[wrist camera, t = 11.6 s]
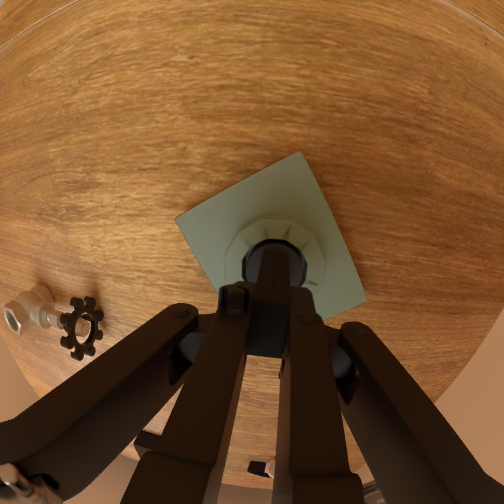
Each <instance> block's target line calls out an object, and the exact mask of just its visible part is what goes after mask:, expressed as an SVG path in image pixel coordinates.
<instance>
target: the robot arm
mask: <svg viewBox="0 0 504 504" xmlns="http://www.w3.org/2000/svg"><path fill="white" fill-rule="evenodd" d="M282 354H283V357H282ZM247 355H255V356H263V357H272V358H282V362H281V367H280V372H279V377H278V379H280V394H279V413H278V429H277V444H276V458H275V470H274V482H273V493H272V503H271V504H504V486H503V485H502V484H500V483H499V482H497V481H496V480H494V479H493V478H492V477H490V476H489V475H487V474H486V473H485V472H484V471H483V469H482V468H481V466H480V465H479V464H478V462H477V461H476V460H475V458H474V457H473V455H472V454H471V452H470V451H469V450H468V448H467V447H466V446H465V444H464V443H463V442H462V440H461V439H460V438H459V437H458V435H457V434H456V432H455V431H454V430H453V428H452V427H451V426H450V424H449V423H448V422H447V420H446V419H445V418H444V417H443V415H442V414H441V413H440V411H439V410H438V409H437V408H436V406H435V405H434V404H433V403H432V401H431V400H430V399H429V398H428V396H427V395H426V394H425V393H424V391H423V390H422V389H421V388H420V386H419V385H418V384H417V383H416V382H415V380H414V379H413V378H412V377H411V375H410V374H409V373H408V372H407V371H406V369H405V368H404V367H403V366H402V365H401V363H400V362H399V361H398V360H397V359H396V358H395V356H394V355H393V354H392V353H391V352H390V350H389V349H388V348H387V347H386V346H385V345H384V343H383V342H382V341H381V340H380V339H379V338H378V336H377V335H376V334H375V333H374V332H373V331H372V330H371V329H370V328H369V327H368V326H367V325H365V324H363V323H360V322H356V321H355V322H345V323H344V324H342V326H341V329H340V330H339V329H336V328H332V327H329V326H326V325H324V324H323V319H322V317H321V316H320V315H319V314H318V313H316V309H315V304H314V299H313V295H312V292H311V291H310V290H309V289H308V288H307V287H297V286H290V271H289V255H288V253H284V252H275V251H266V250H264V252H263V256H262V260H261V264H260V269H259V273H258V277H257V281H256V283H254V282H246V281H237V282H236V283H234V284H228V285H224V286H221V287H220V288H219V299H218V309H217V311H216V313H212V314H198V309H197V308H196V307H195V306H193V305H190V304H186V303H177V304H173V305H170V306H168V307H167V308H165V309H164V310H163V311H161V312H160V313H158V314H157V315H156V316H154V317H153V318H151V319H150V320H149V321H147V322H146V323H144V324H143V325H142V326H140V327H139V328H138V329H136V330H135V331H133V332H132V333H131V334H129V335H128V336H126V337H125V338H124V339H122V340H121V341H119V342H118V343H117V344H115V345H114V346H113V347H111V348H110V349H108V350H107V351H106V352H104V353H103V354H101V355H100V356H99V357H97V358H96V359H95V360H93V361H92V362H90V363H89V364H88V365H86V366H85V367H84V368H82V369H81V370H79V371H78V372H77V373H75V374H74V375H73V376H71V377H70V378H68V379H67V380H66V381H64V382H63V383H62V384H60V385H59V386H57V387H56V388H55V389H53V390H52V391H51V392H49V393H48V394H46V395H45V396H44V397H42V398H41V399H40V400H38V401H37V402H36V403H34V404H33V405H32V406H30V407H29V408H27V409H26V410H25V411H23V412H22V413H21V414H19V415H18V416H17V417H15V418H14V419H11V420H8V421H4V422H1V423H0V504H63V502H64V501H66V500H68V499H70V498H72V497H74V496H75V495H77V494H78V493H80V492H81V491H82V490H84V489H85V488H86V487H87V486H88V485H89V484H91V482H93V481H94V480H95V478H96V477H98V476H99V474H101V473H102V471H103V470H104V469H105V468H106V467H107V466H108V465H109V464H110V463H111V462H112V461H113V460H114V459H115V458H116V457H117V456H118V455H119V454H120V453H121V452H122V451H123V450H124V449H125V448H126V446H127V445H128V444H129V443H130V442H131V441H132V440H133V439H134V438H135V437H136V436H137V435H138V434H139V433H140V431H141V430H142V429H143V428H144V427H145V426H146V425H147V424H148V423H149V422H150V421H151V419H152V418H153V417H154V416H155V415H156V414H157V413H158V412H159V411H160V409H161V408H162V407H163V406H164V405H165V404H166V403H167V402H168V401H169V399H170V398H171V397H172V396H173V395H174V394H175V393H176V392H177V390H178V389H179V388H180V387H181V386H182V385H183V384H184V385H183V387H182V389H181V392H180V394H179V396H178V398H177V401H176V403H175V405H174V407H173V410H172V412H171V414H170V416H169V419H168V421H167V423H166V426H165V428H164V430H163V432H162V435H161V437H160V439H159V441H158V444H157V446H156V448H155V449H154V450H151V451H146V452H145V453H144V454H143V456H142V457H141V459H140V461H139V463H138V465H137V467H136V469H135V472H134V474H133V476H132V478H131V480H130V482H129V484H128V487H127V489H126V491H125V493H124V495H123V498H122V500H121V502H120V504H217V499H218V494H219V490H220V485H221V481H222V476H223V472H224V467H225V463H226V458H227V453H228V449H229V444H230V439H231V434H232V430H233V425H234V420H235V415H236V410H237V406H238V401H239V396H240V391H241V386H242V381H243V376H244V371H245V366H246V360H247ZM184 382H185V383H184ZM341 412H342V414H343V416H344V418H345V420H346V422H347V424H348V426H349V428H350V430H351V432H352V434H353V436H354V438H355V440H356V442H357V444H358V446H359V448H360V450H361V452H362V455H363V457H364V459H365V461H366V463H367V465H368V467H369V468H370V471H371V473H372V475H373V477H374V479H375V481H376V483H377V485H378V488H376V489H374V490H371V491H369V492H367V493H365V494H364V493H363V486H362V482H361V479H360V477H359V476H358V474H355V473H352V472H351V471H350V468H349V462H348V455H347V448H346V441H345V434H344V428H343V421H342V415H341Z"/></svg>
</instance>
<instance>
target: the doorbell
mask: <svg viewBox="0 0 504 504" xmlns="http://www.w3.org/2000/svg"><path fill="white" fill-rule="evenodd" d="M174 220H175V222H176V224H177V225H178V227H179V229H180V231H181V232H182V234H183V236H184V238H185V239H186V241H187V243H188V245H189V246H190V248H191V250H192V252H193V253H194V255H195V257H196V258H197V260H198V262H199V264H200V265H201V267H202V269H203V270H204V272H205V274H206V275H207V277H208V279H209V280H210V282H211V284H212V285H213V287H214V289H215V290H216V292H217V294H218V295H219V288H220V287H221V286H224V285H228V284H234V283H236V282H237V281H246V282H248V280H247V277H246V264H247V261H248V259H249V256H250V254H251V251H252V250H253V248H254V247H255V246H256V245H257V244H258V243H260V242H261V241H263V240H266V239H281V240H286V241H288V242H289V243H291V244H292V245H294V246H295V247H296V249H297V250H298V252H299V254H300V257H301V262H302V267H303V275H302V279H301V282H300V284H299V285H298V287H307V288H308V289H309V290H310V291H311V292H312V295H313V299H314V304H315V309H316V313H318V314H319V315H320V316H321V317H322V319H323V321H325V320H327V319H329V318H331V317H334V316H336V315H338V314H340V313H343V312H345V311H347V310H349V309H351V308H353V307H356V306H358V305H360V304H362V303H364V302H366V301H368V299H367V296H366V293H365V291H364V288H363V285H362V283H361V280H360V278H359V275H358V272H357V270H356V267H355V265H354V262H353V260H352V258H351V255H350V253H349V250H348V248H347V246H346V243H345V241H344V239H343V236H342V234H341V232H340V229H339V227H338V225H337V223H336V220H335V218H334V216H333V214H332V212H331V210H330V207H329V205H328V203H327V201H326V199H325V197H324V195H323V193H322V191H321V189H320V187H319V185H318V183H317V181H316V179H315V177H314V175H313V173H312V171H311V169H310V167H309V165H308V163H307V161H306V159H305V157H304V155H303V153H302V152H301V151H298V152H296V153H294V154H292V155H290V156H288V157H286V158H284V159H282V160H280V161H278V162H276V163H274V164H272V165H270V166H268V167H266V168H264V169H262V170H260V171H258V172H256V173H254V174H252V175H250V176H249V177H247V178H245V179H243V180H241V181H239V182H237V183H236V184H234V185H232V186H230V187H228V188H226V189H225V190H223V191H221V192H219V193H218V194H216V195H214V196H212V197H210V198H209V199H207V200H205V201H203V202H202V203H200V204H198V205H197V206H195V207H193V208H191V209H190V210H188V211H186V212H185V213H183V214H181V215H180V216H178V217H176V218H175V219H174Z"/></svg>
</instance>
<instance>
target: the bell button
mask: <svg viewBox="0 0 504 504" xmlns="http://www.w3.org/2000/svg"><path fill="white" fill-rule="evenodd" d="M264 250H266V251H275V252H284V253H288V255H289V271H290V286H297V287H298V285H299V284H300V282H301V279H302V275H303V267H302V262H301V257H300V254H299V252H298V250H297V249H296V247H295V246H294V245H292V244H291V243H289V242H288V241H286V240H281V239H266V240H263V241H261V242H260V243H258V244H257V245H256V246H255V247H254V248H253V250H252V251H251V254H250V256H249V259H248V261H247V264H246V277H247V280H248V282H254V283H256V281H257V277H258V273H259V269H260V264H261V260H262V256H263V252H264Z"/></svg>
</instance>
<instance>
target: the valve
mask: <svg viewBox="0 0 504 504" xmlns="http://www.w3.org/2000/svg"><path fill="white" fill-rule="evenodd" d="M84 301H87V302H86V305H85V306H84ZM84 301H83V299H81V298H77V297H72V298H71V301H70V305H71V306H74V308H75V310H74V311H73V312H72V314H71V313H63V312H61V311H58V310H55V309H54V304H55V301H54V298H53V296H52V294H51V292H50V290H49V289H48V288H47V287H46V286H44V285H37V286H35V287H33V288H32V289H30V291H24V292H22V293H20V294H19V295H18V296H17V298H16V299H15V301H14V300H12V301H10V302H9V303H7V304H6V305H4V317H5V320H6V322H7V324H8V326H9V327H10V329H11V330H12V331H13V332H14V333H15V334H17V335H22V334H24V333H25V332H26V331H27V330H29V327H34V326H36V325H38V326H40V327H42V328H44V329H47V328H50V327H51V326H53V327H55V328H58V329H60V330H62V329H63V328H64V330H65V331H66V332H67V333H68V336H67V337H64V336H62V337H61V340H60V343H61V346H62V347H65V348H67V349H72V348H73V347H74V348H75V351H74V352H71V357H72V358H74V359H76V360H79V361H81V360H82V359H83V357H84V354H86V355H89V356H94V355H95V352H96V349H95V347H94V346H93V343H94V341H95V339H97V340H101V339H102V338H103V332H102V331H101V330H98V322H99V321H102V320H103V316H104V315H103V312H102V311H99V310H95V309H94V307H95V306H96V299H95V298H93V297H89V296H86V297H85V298H84ZM84 312H87V313H88V314H83V315H81V314H82V313H84ZM86 320H87V321H91V331H90V334H89V337H88V339H87V340H86V341H85V342H84V343H82V344H81V343H79V342H78V341H77V339H76V336H81V337H85V336H86V335H87V334H88V333H89V323H88V322H87V321H86Z"/></svg>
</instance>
